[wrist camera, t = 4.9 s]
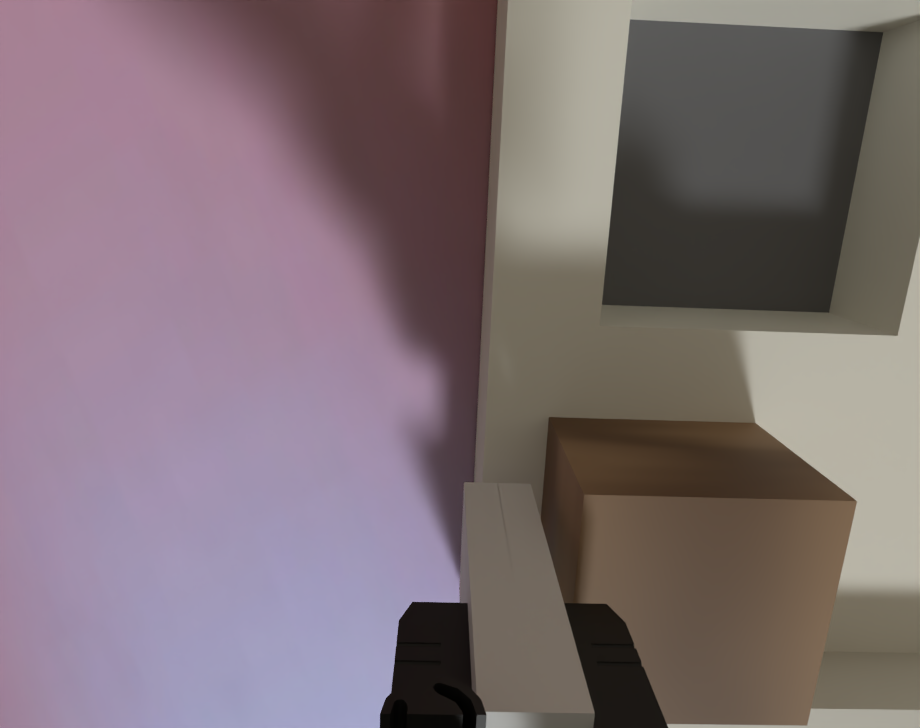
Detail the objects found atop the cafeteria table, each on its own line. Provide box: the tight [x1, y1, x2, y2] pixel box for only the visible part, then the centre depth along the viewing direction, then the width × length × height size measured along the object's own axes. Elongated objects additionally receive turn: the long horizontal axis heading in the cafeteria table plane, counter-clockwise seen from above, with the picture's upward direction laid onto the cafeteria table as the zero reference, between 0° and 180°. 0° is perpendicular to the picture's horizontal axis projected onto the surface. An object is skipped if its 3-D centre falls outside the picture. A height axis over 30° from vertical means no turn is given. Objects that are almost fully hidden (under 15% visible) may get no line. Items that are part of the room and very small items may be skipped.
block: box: [541, 417, 857, 726], centre depth 14 cm, size 5×5×4 cm
